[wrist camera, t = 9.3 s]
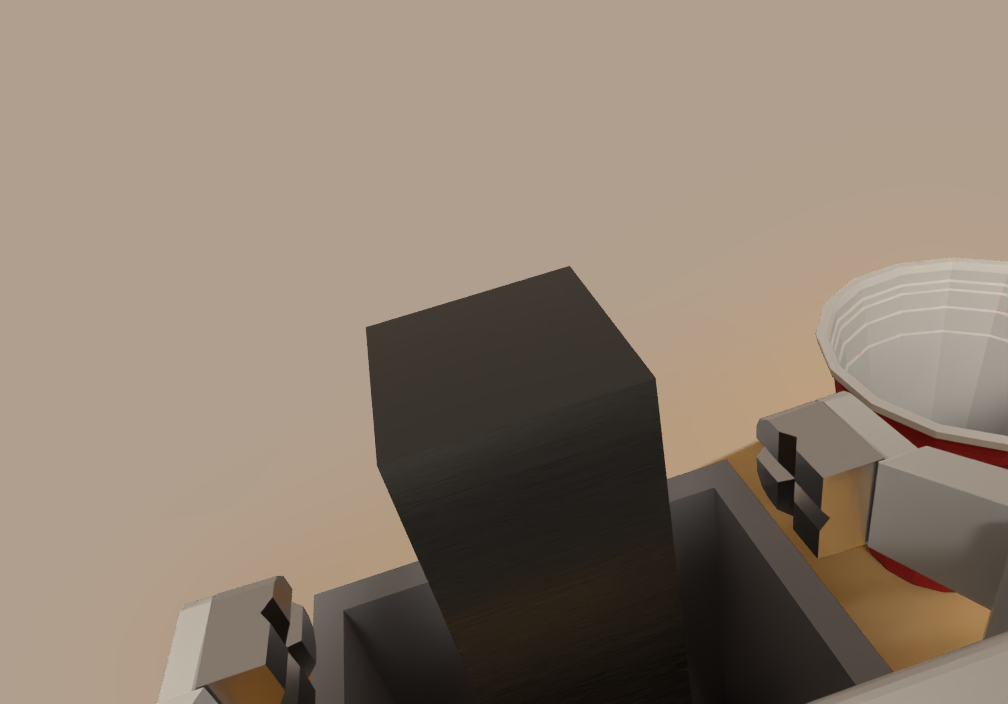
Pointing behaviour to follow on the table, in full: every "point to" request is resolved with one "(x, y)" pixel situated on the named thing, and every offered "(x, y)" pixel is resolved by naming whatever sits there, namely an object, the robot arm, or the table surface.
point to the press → (704, 604)
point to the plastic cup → (926, 358)
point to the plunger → (534, 492)
